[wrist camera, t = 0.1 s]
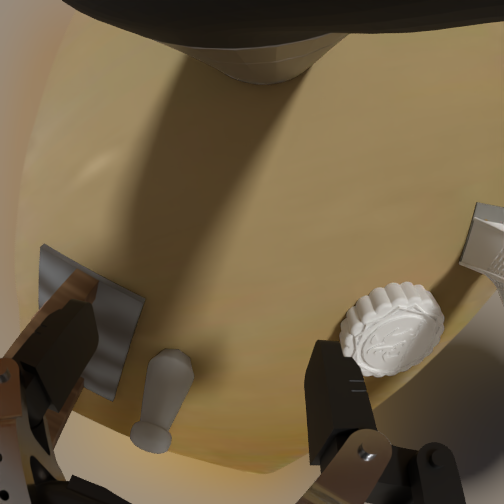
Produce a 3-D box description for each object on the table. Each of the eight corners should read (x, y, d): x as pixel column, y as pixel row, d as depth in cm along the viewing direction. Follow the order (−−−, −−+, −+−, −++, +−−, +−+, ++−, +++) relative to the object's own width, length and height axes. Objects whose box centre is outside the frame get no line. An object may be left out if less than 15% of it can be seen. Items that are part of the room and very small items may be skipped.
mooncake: (354, 275, 29) (363, 297, 26) (450, 283, 29) (464, 303, 25) (327, 358, 35) (330, 381, 31) (412, 359, 34) (420, 379, 31)
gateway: (44, 243, 29) (-56, 343, 14) (145, 298, 32) (75, 439, 16) (44, 359, 41) (-2, 437, 25) (114, 398, 43) (79, 486, 27)
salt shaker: (166, 375, 38) (140, 457, 26) (145, 346, 35) (109, 432, 24) (205, 371, 37) (185, 461, 25) (185, 340, 34) (156, 436, 23)
